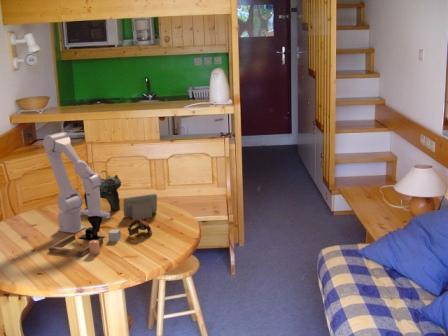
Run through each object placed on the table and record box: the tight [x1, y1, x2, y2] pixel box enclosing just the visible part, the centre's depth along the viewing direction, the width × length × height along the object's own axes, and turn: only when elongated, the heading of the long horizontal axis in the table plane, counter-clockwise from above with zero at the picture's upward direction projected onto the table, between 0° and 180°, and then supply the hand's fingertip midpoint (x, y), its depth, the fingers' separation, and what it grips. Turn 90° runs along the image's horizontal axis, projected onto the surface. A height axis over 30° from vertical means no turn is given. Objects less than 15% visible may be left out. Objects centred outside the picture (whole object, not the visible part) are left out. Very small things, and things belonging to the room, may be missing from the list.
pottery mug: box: [127, 218, 153, 237], centre depth 243 cm, size 12×10×8 cm
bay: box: [48, 233, 104, 258], centre depth 231 cm, size 16×15×2 cm
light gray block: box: [107, 228, 122, 243], centre depth 238 cm, size 4×4×4 cm
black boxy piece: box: [77, 226, 106, 242], centre depth 241 cm, size 12×7×5 cm, turn 65°
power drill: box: [83, 170, 122, 212], centre depth 275 cm, size 20×6×20 cm, turn 69°
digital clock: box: [123, 193, 158, 221], centre depth 264 cm, size 16×9×11 cm, turn 98°
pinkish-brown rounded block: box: [88, 240, 101, 256], centre depth 224 cm, size 4×4×5 cm
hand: (96, 231), depth 243 cm, fingers closed
